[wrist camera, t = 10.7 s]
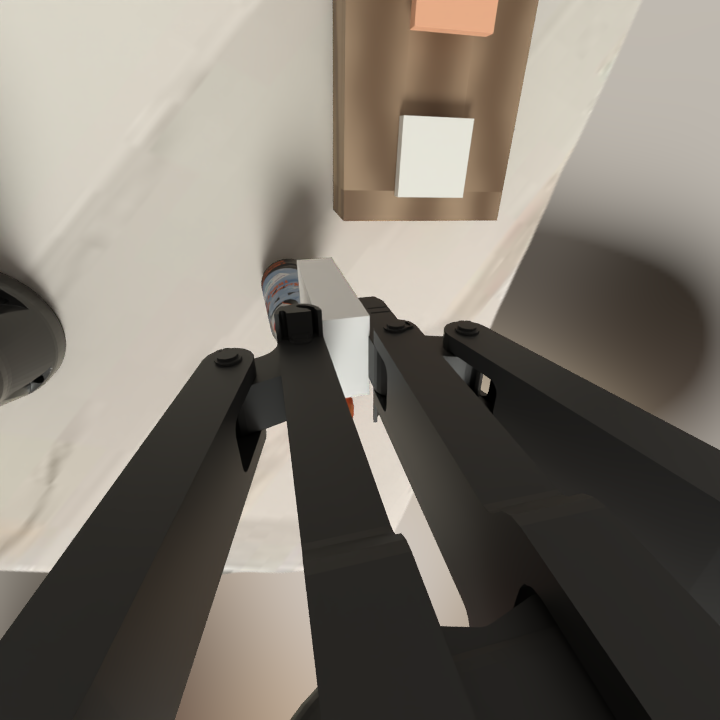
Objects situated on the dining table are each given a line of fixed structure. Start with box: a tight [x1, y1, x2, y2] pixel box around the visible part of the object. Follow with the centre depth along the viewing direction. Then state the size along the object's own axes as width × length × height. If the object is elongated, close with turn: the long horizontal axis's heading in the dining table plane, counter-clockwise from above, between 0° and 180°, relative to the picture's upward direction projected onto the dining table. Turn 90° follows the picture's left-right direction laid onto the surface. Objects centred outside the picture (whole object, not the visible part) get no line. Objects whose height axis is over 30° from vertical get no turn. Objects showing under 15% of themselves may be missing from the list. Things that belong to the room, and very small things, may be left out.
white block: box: [394, 115, 474, 198], centre depth 39 cm, size 6×6×8 cm
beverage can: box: [261, 259, 301, 341], centre depth 41 cm, size 6×7×12 cm
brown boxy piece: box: [333, 0, 539, 221], centre depth 36 cm, size 16×23×7 cm
